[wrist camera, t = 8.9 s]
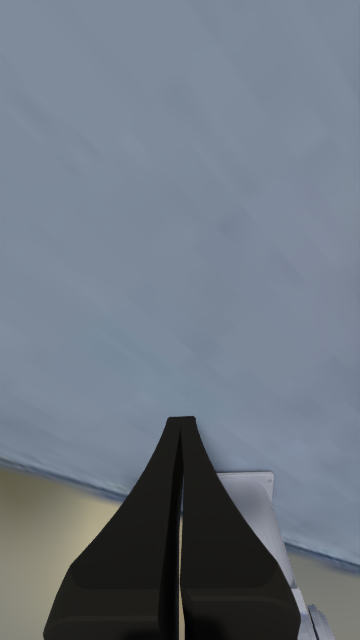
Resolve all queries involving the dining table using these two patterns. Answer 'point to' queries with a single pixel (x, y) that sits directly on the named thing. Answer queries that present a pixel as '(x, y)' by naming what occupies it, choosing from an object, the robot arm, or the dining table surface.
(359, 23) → the dining table surface
